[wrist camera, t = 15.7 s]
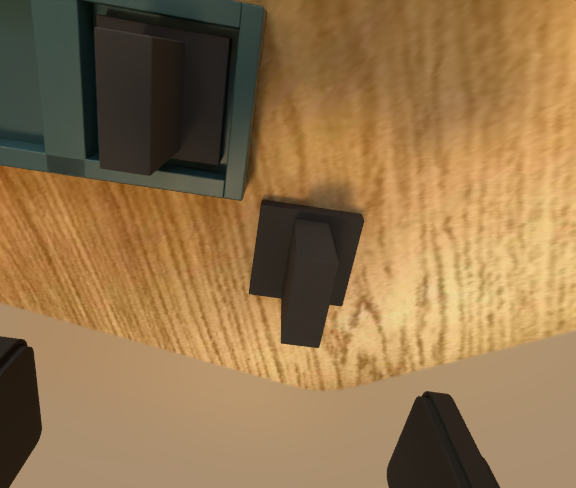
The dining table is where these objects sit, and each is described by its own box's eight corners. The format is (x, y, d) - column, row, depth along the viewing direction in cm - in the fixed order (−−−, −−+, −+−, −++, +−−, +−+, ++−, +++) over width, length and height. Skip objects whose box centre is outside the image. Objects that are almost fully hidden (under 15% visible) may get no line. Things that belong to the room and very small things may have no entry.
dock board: (266, 11, 19) (264, 6, 17) (245, 188, 23) (242, 201, 21) (-127, -61, 18) (-181, -76, 16) (-83, 139, 22) (-121, 147, 20)
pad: (361, 213, 24) (384, 260, 18) (340, 298, 26) (354, 360, 21) (261, 199, 23) (255, 241, 18) (249, 286, 26) (240, 346, 20)
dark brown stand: (232, 38, 19) (211, 30, 14) (221, 161, 22) (200, 196, 16) (104, 15, 19) (31, -2, 13) (108, 143, 21) (47, 173, 16)
